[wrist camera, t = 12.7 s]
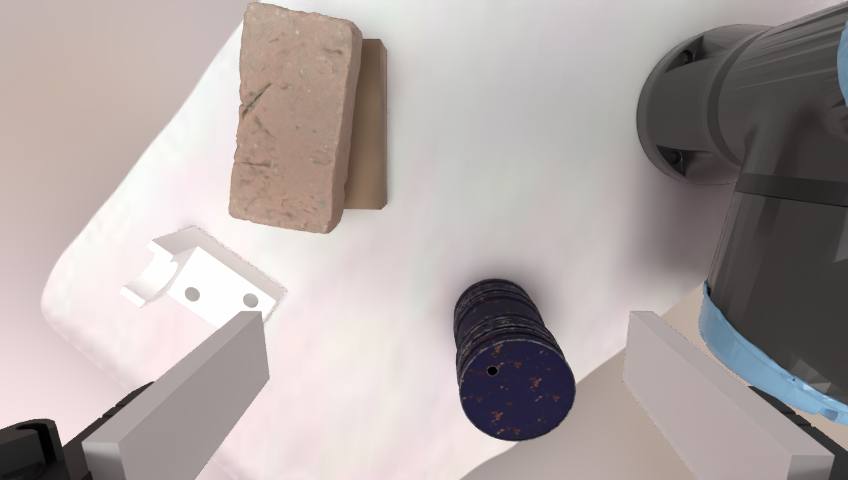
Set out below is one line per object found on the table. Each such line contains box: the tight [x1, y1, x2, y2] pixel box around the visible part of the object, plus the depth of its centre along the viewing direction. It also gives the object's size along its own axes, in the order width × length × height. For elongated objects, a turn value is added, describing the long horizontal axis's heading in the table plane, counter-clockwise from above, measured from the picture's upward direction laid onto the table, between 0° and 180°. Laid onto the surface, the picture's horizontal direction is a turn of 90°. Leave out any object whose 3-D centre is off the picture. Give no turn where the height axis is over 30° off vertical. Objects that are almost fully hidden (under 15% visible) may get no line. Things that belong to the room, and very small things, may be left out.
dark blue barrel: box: [453, 279, 576, 442], centre depth 41 cm, size 10×10×15 cm
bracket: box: [119, 226, 287, 329], centre depth 45 cm, size 13×7×8 cm, turn 52°
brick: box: [229, 2, 362, 234], centre depth 32 cm, size 17×8×5 cm, turn 170°
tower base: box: [343, 39, 387, 210], centre depth 42 cm, size 12×16×5 cm
